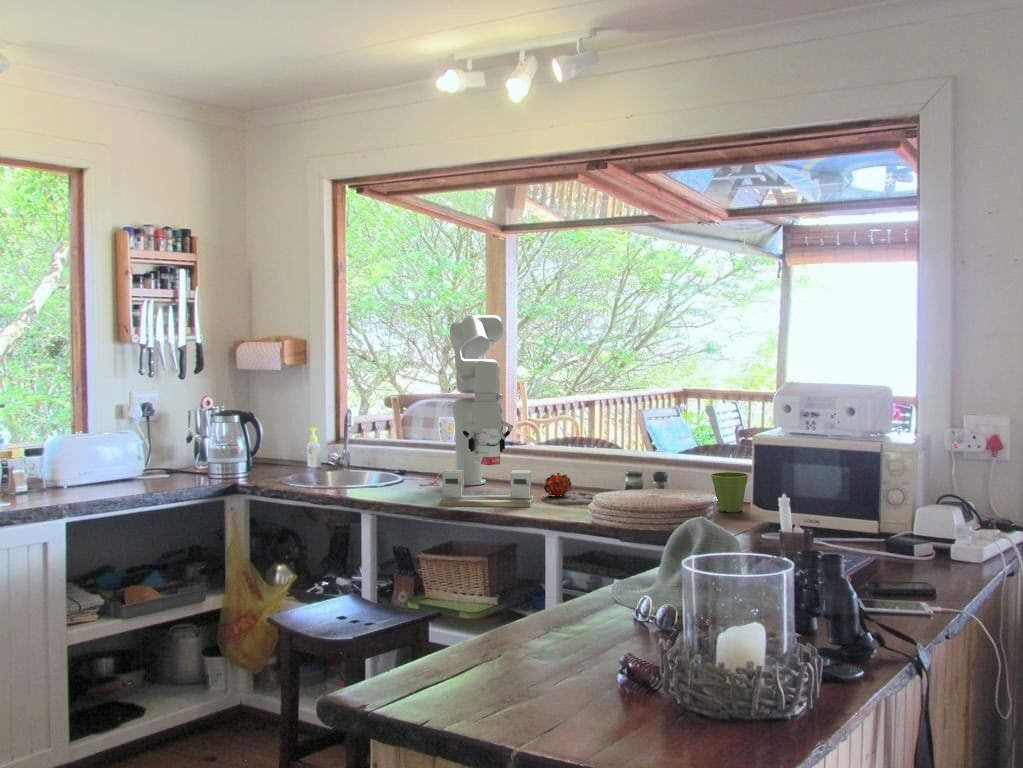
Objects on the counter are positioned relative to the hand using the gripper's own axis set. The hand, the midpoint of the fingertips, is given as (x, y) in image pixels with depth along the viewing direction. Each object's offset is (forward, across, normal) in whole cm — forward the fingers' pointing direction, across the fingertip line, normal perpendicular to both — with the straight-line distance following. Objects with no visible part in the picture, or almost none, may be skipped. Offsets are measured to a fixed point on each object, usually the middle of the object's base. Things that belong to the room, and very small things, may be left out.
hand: (486, 451), depth 311 cm
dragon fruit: (+17, -22, -15) cm, 32 cm away
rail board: (+17, 0, 0) cm, 17 cm away
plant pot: (+17, -76, +9) cm, 78 cm away
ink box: (+4, 0, 0) cm, 4 cm away
